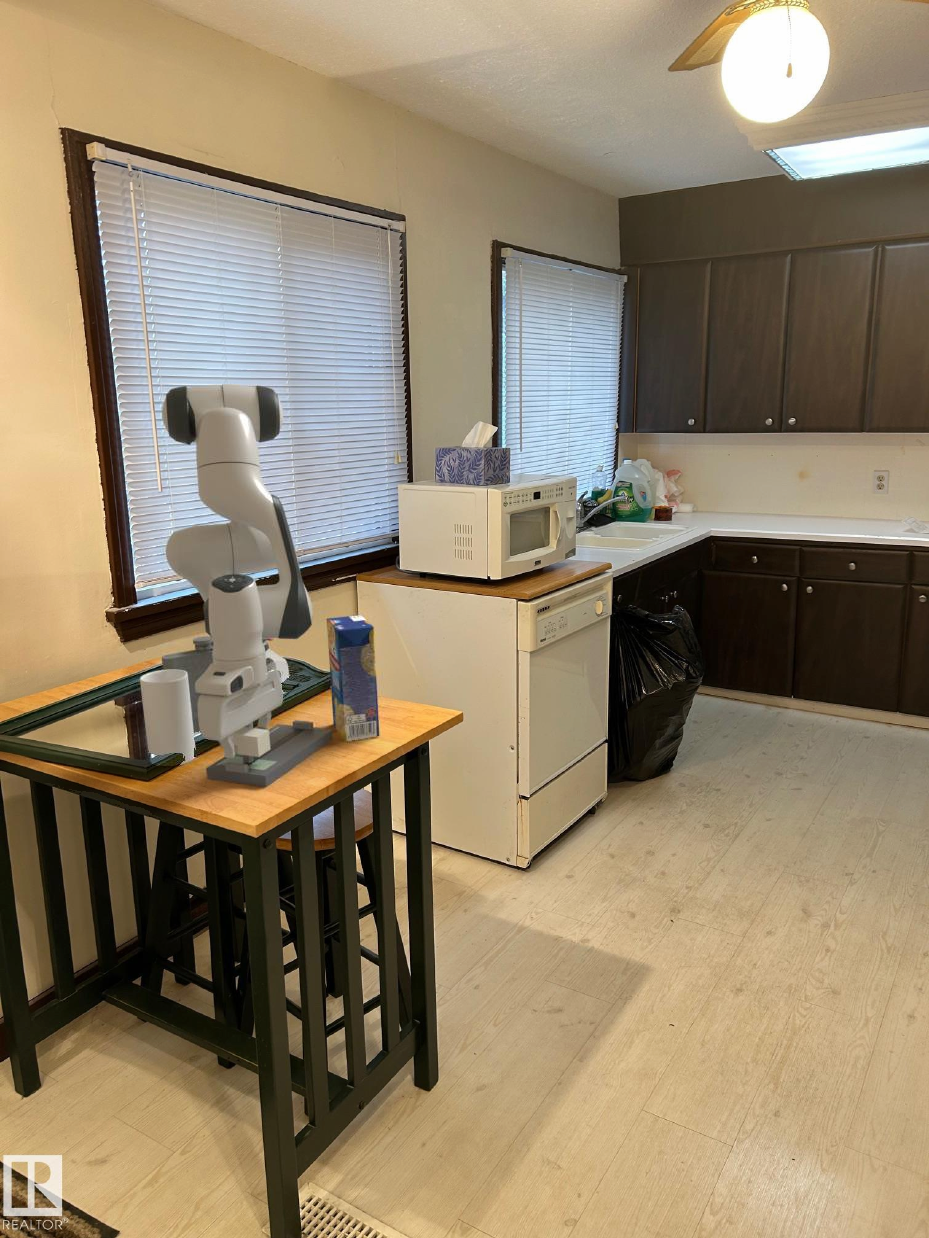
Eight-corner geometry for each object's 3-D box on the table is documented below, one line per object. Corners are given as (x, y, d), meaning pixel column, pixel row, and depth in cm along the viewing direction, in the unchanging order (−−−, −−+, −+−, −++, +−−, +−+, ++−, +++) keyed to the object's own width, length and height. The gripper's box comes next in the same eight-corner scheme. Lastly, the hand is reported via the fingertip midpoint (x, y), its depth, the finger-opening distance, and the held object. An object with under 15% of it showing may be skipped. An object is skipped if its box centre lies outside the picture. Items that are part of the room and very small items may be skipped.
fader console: (278, 733, 176) (277, 718, 176) (332, 739, 172) (331, 724, 171) (207, 778, 156) (205, 761, 155) (266, 786, 151) (264, 769, 151)
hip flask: (173, 747, 171) (161, 646, 166) (169, 741, 174) (157, 642, 170) (255, 731, 178) (246, 634, 173) (249, 725, 181) (241, 630, 177)
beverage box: (366, 719, 183) (360, 614, 178) (379, 736, 173) (373, 626, 168) (333, 723, 181) (326, 618, 176) (344, 742, 171) (337, 630, 166)
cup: (179, 746, 171) (170, 666, 167) (205, 756, 166) (196, 673, 162) (140, 760, 165) (130, 677, 161) (165, 770, 160) (156, 685, 156)
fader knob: (237, 755, 159) (234, 726, 158) (271, 759, 157) (268, 729, 156) (225, 762, 156) (222, 732, 155) (259, 767, 154) (257, 737, 152)
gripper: (258, 653, 163) (264, 724, 166) (187, 686, 145) (196, 766, 148) (288, 655, 161) (294, 728, 164) (220, 689, 142) (228, 770, 146)
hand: (247, 746), depth 156 cm, fingers open, 8 cm apart
